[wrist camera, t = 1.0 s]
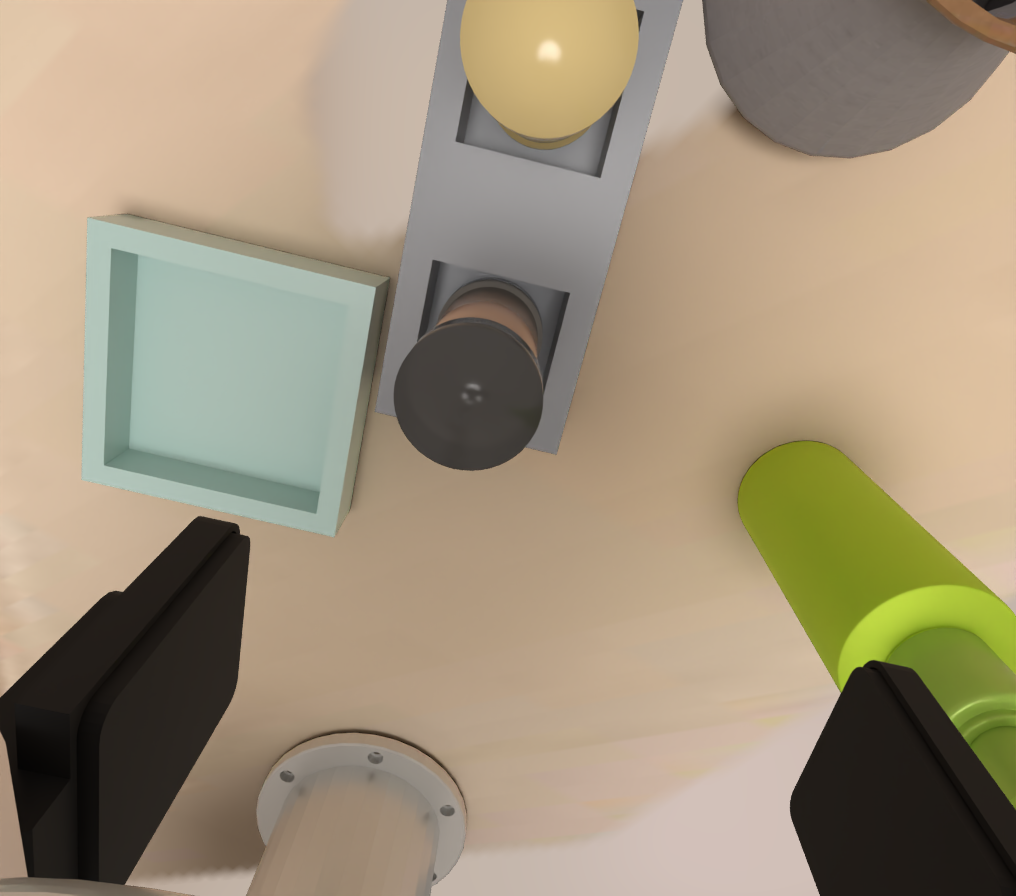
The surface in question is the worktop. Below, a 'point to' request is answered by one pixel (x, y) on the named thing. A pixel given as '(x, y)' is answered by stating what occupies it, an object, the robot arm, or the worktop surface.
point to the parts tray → (226, 372)
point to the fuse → (548, 63)
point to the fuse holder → (521, 213)
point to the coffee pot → (854, 66)
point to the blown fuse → (474, 378)
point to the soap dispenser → (884, 592)
